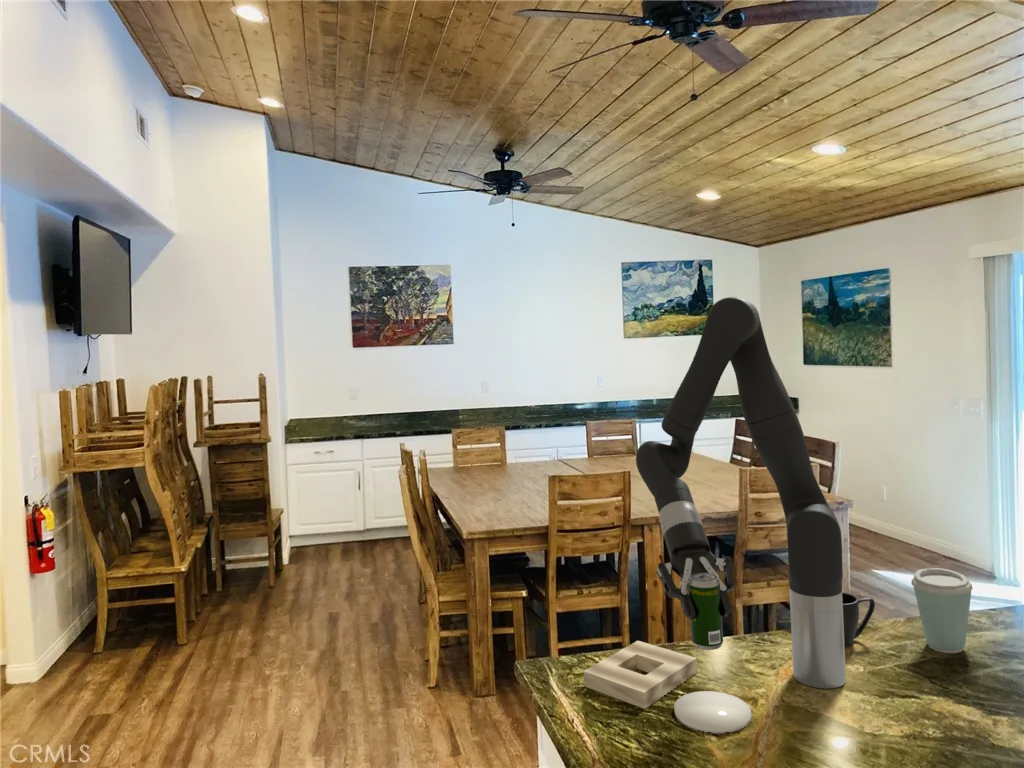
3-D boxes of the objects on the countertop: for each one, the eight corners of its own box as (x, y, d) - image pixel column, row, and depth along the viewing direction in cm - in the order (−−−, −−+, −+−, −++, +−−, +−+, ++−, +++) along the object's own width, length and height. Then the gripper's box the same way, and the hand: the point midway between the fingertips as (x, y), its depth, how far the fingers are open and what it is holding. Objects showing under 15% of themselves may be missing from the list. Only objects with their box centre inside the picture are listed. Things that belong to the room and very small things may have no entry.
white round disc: (698, 688, 133) (698, 684, 133) (764, 710, 124) (764, 705, 124) (660, 716, 124) (659, 712, 124) (728, 742, 115) (728, 737, 115)
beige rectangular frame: (638, 654, 149) (637, 640, 149) (697, 672, 139) (696, 658, 139) (584, 686, 137) (583, 671, 137) (644, 709, 127) (644, 692, 127)
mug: (886, 647, 146) (884, 601, 145) (828, 651, 146) (826, 605, 145) (865, 631, 154) (863, 588, 154) (810, 635, 154) (809, 592, 153)
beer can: (730, 645, 123) (726, 577, 122) (706, 653, 120) (701, 584, 120) (709, 635, 127) (705, 570, 127) (685, 642, 125) (681, 576, 125)
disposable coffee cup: (987, 657, 139) (985, 581, 138) (932, 660, 139) (929, 584, 138) (954, 635, 149) (951, 565, 149) (903, 638, 149) (900, 568, 149)
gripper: (648, 523, 130) (672, 610, 118) (724, 516, 131) (755, 602, 120) (643, 544, 135) (665, 629, 124) (715, 537, 136) (744, 621, 125)
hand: (709, 615), depth 122 cm, fingers closed on beer can, 5 cm apart
